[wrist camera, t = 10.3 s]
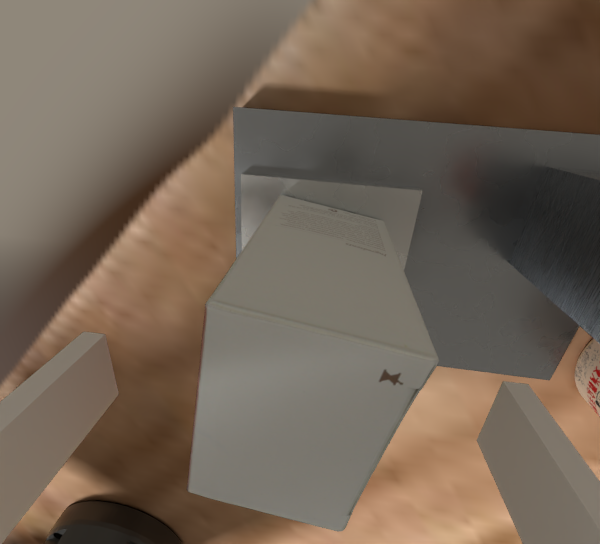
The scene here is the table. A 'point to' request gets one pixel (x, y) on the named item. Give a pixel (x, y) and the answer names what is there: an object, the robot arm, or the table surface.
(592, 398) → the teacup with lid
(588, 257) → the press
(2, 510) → the robot arm
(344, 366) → the small box
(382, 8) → the table surface
